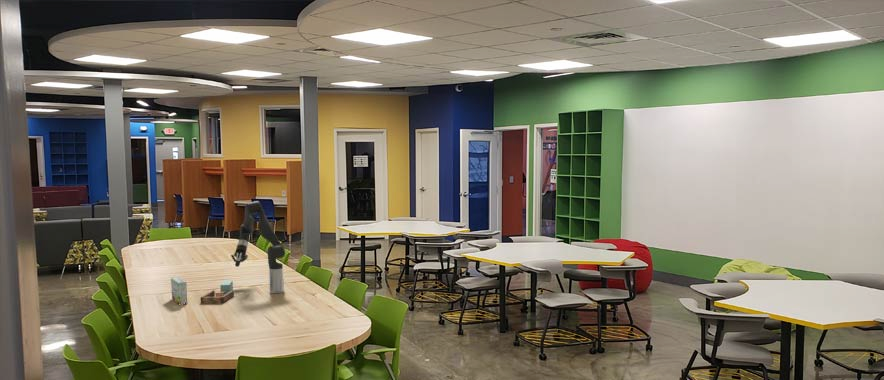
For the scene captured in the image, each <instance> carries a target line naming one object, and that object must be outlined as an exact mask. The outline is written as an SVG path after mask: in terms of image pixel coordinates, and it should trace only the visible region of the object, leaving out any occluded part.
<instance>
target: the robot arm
mask: <svg viewBox="0 0 884 380" xmlns="http://www.w3.org/2000/svg"><path fill="white" fill-rule="evenodd" d="M257 214H258V215H259V219H258V224H257V231H258V232H259V234H260V236H261V237H262V238H263V239H265V240H266V241H267V242H268V243H271V246H269V247H268V248H267V263H268V268H269V269H268V275H269V277H268V278H269V281H268V282H269V293H270V294H282V293H284V291H285V282H284V281H285V278H284V277H283V276H284V271H283V263H281V262H278V261H277V260H278V259H283V258H284V257H285V255H286V252H285V251H286V250H285V248H284V246H283V245H282V242H281V241H280V240H279V238H278V237H277V235H276V233H275V232H274V229H273V227H272V224H270V222H269V219H268V217H267V216H266V214H265V211H264V209H263V206H262V204H261V202H260V201H259V200H254V201H251V202H247V203H246V204H245V206H244V220H243V223H242V224H241V225H240V227H239V239H238V242H237V245H236V249H235V252H234V254H231V255H230V257H231V259H232V260H233V262H234V263H235V267H240V265H241V263H244V262H245V261H246V260H248V259H249V255H248V254H247V250H248V246H249V241H250V236H252V234H253V233H254V232H255V231H254V222H255V220H254V219H255V218H254V217H253V216H252V215H257Z"/></svg>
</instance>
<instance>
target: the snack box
mask: <svg viewBox="0 0 884 380" xmlns="http://www.w3.org/2000/svg"><path fill="white" fill-rule="evenodd" d="M170 284H171V286H170V287H171V299H172V300H173V301H174V300H175V301H176V302H177V304H178V303H179V304H183V305H185V304H184V303H187V304H188V289H187V281H185V280H184V279H183V278H181V277H180V276H174V277H171V278H170ZM175 301H174V302H175ZM176 302H175V303H176ZM179 304H178V305H179Z"/></svg>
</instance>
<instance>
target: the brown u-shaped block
mask: <svg viewBox="0 0 884 380" xmlns="http://www.w3.org/2000/svg"><path fill="white" fill-rule="evenodd" d="M215 293H216V292H215V289H214V290H213V289H212V290H210V291H209V292H207V293H206V294H204V295H202V296H201V297H200V304H225V303H226V302H227V301H229V300H231V299H232V298H233V297H235V290H234V289H233V290H231V291H230V292H228V293H227V294H225V295H224V296H222V297H216V294H215Z"/></svg>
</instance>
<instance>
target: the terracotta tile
mask: <svg viewBox="0 0 884 380" xmlns="http://www.w3.org/2000/svg"><path fill="white" fill-rule="evenodd" d="M225 294H226V293H225V291H221V290H218V291H216V292H215V297H222V296H224V295H225Z"/></svg>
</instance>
